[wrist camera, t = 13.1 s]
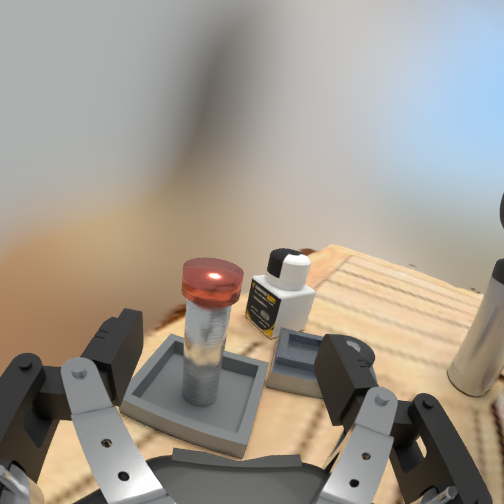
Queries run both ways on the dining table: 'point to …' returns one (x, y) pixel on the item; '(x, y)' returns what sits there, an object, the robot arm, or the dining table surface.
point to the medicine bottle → (281, 294)
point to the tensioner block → (305, 362)
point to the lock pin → (206, 324)
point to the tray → (194, 417)
